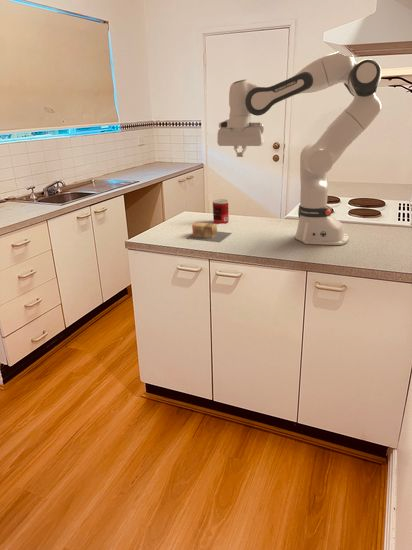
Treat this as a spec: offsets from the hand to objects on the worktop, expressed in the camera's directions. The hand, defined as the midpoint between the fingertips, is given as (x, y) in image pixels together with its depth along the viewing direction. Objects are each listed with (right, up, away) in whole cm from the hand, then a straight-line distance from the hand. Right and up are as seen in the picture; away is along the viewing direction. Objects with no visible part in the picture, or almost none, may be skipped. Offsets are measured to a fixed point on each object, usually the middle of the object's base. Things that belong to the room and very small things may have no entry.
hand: (240, 156), depth 177 cm
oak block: (-11, -31, +7) cm, 34 cm away
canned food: (-7, -25, +30) cm, 40 cm away
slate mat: (-13, -34, +9) cm, 38 cm away
